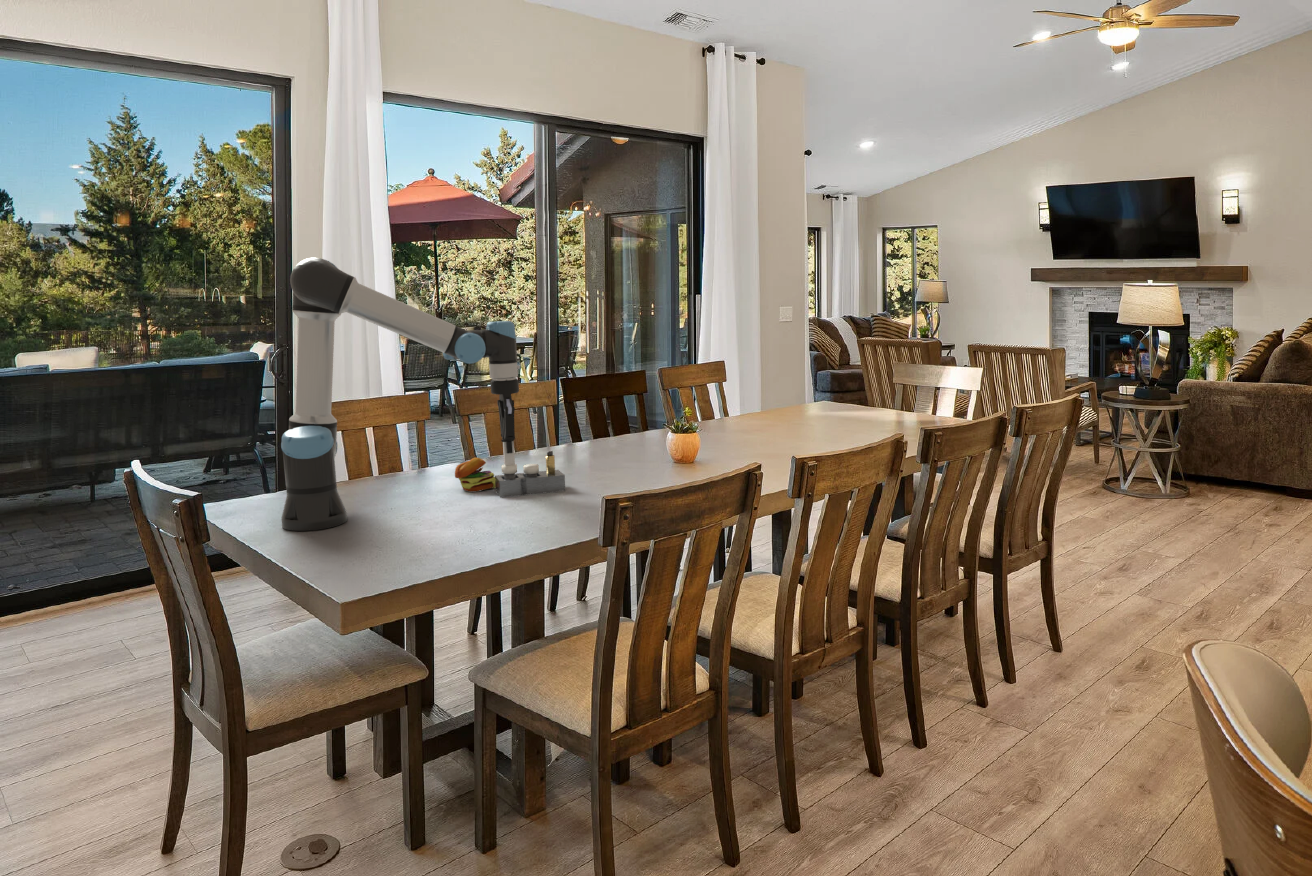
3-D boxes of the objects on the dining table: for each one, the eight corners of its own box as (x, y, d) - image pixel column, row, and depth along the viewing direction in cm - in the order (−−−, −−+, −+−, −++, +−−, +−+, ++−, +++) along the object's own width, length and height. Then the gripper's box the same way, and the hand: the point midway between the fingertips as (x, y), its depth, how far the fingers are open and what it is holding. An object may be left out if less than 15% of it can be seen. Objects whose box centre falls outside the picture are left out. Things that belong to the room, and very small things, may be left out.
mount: (500, 497, 249) (499, 481, 248) (495, 491, 256) (494, 475, 256) (565, 490, 255) (564, 474, 254) (559, 485, 262) (558, 469, 261)
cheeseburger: (494, 491, 255) (483, 458, 254) (458, 501, 256) (447, 468, 254) (501, 483, 265) (490, 450, 264) (466, 493, 266) (455, 460, 264)
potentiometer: (547, 474, 255) (546, 452, 254) (545, 472, 257) (544, 451, 256) (556, 473, 256) (555, 451, 255) (554, 472, 258) (553, 450, 257)
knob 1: (504, 491, 251) (502, 467, 250) (501, 488, 255) (500, 464, 254) (519, 490, 252) (518, 465, 251) (516, 487, 256) (515, 463, 255)
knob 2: (526, 491, 253) (524, 467, 252) (523, 488, 257) (521, 464, 256) (541, 490, 254) (539, 466, 253) (538, 487, 258) (536, 463, 257)
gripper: (522, 380, 244) (527, 467, 248) (513, 375, 256) (518, 458, 260) (494, 381, 241) (499, 469, 245) (486, 377, 253) (492, 461, 257)
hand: (509, 464), depth 253 cm, fingers closed
